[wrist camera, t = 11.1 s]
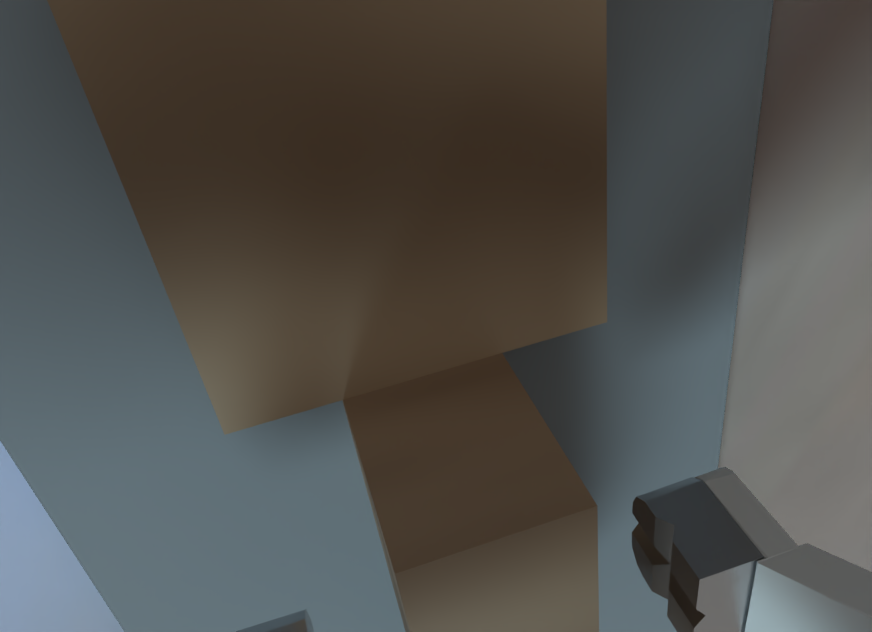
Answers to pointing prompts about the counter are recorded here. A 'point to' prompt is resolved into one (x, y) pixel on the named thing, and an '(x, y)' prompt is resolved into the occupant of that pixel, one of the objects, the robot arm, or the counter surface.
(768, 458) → the counter surface
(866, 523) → the counter surface
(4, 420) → the tool rest mat
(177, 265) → the tan stepped block
